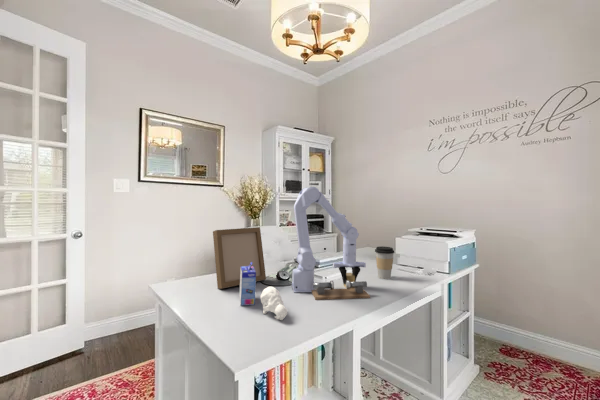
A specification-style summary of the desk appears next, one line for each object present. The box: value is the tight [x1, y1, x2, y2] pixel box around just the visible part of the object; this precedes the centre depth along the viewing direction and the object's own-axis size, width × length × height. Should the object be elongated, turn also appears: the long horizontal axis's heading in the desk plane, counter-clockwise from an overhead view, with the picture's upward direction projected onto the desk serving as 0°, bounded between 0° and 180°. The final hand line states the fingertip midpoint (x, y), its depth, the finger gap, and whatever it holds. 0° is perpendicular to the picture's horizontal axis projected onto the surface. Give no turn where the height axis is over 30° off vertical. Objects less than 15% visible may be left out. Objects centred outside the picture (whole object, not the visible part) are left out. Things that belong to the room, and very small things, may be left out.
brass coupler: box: [343, 272, 355, 288], centre depth 123 cm, size 5×4×6 cm
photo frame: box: [212, 226, 267, 289], centre depth 128 cm, size 15×22×25 cm
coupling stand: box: [311, 280, 371, 301], centre depth 112 cm, size 22×9×6 cm, turn 97°
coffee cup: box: [374, 245, 395, 280], centre depth 138 cm, size 9×9×15 cm
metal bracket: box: [268, 264, 297, 282], centre depth 137 cm, size 14×6×15 cm
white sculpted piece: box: [259, 286, 288, 321], centre depth 92 cm, size 6×8×12 cm
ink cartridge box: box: [238, 262, 257, 307], centre depth 104 cm, size 10×6×14 cm, turn 15°
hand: (349, 283), depth 123 cm, fingers closed on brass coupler, 4 cm apart
